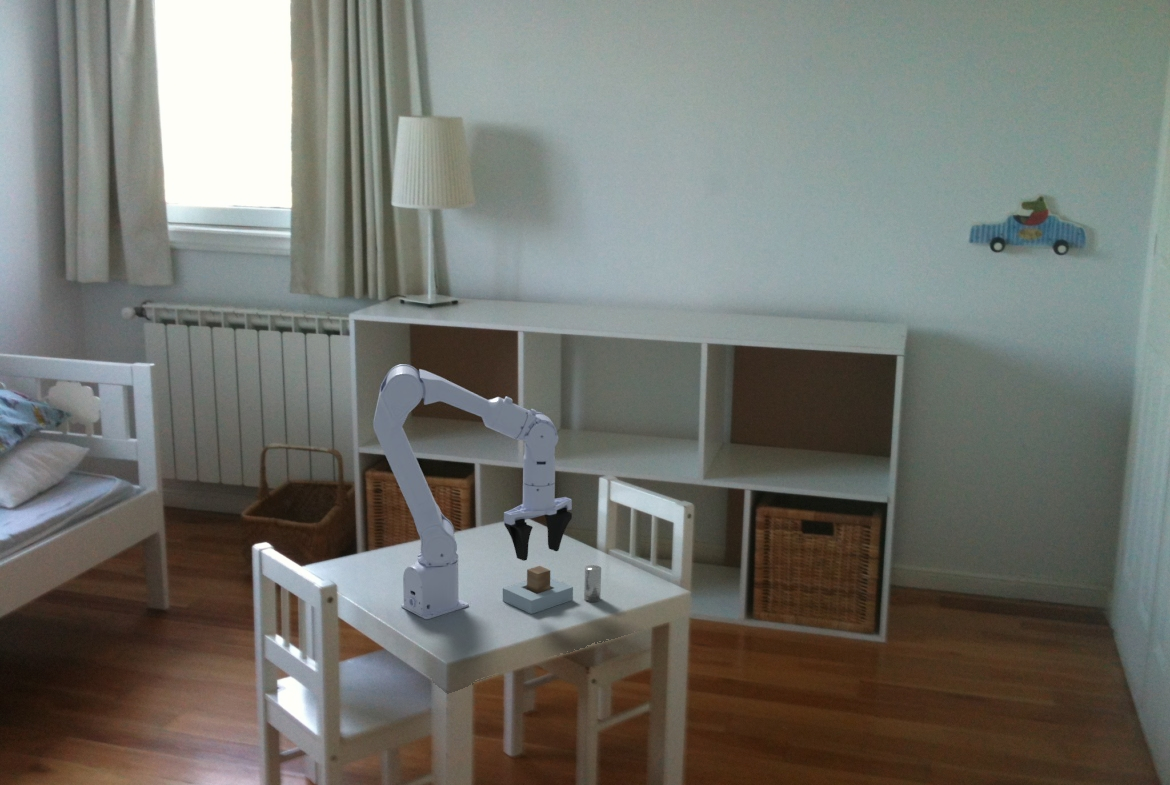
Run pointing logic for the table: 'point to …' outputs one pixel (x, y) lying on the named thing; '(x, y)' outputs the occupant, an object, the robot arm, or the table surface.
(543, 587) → the square bit
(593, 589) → the cylinder
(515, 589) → the socket block
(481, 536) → the table surface
